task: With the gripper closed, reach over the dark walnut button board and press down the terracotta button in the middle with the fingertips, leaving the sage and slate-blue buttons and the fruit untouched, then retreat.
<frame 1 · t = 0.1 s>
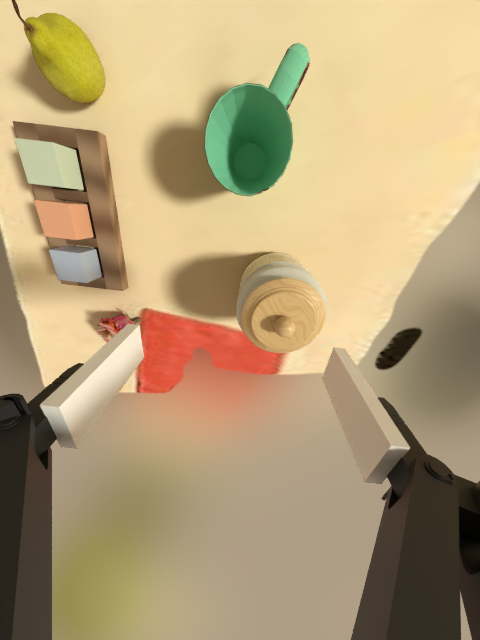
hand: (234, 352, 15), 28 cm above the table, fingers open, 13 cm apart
fruit: (90, 79, 29), on the table
button board: (84, 218, 37), on the table
flower: (130, 324, 47), on the table
button sage: (52, 166, 30), point 4 cm above the table, slide at 0.0 cm
jar: (273, 285, 41), on the table
mug: (258, 145, 31), on the table
button slate: (77, 264, 37), point 4 cm above the table, slide at 0.0 cm
button terracotta: (66, 220, 34), point 4 cm above the table, slide at 0.0 cm
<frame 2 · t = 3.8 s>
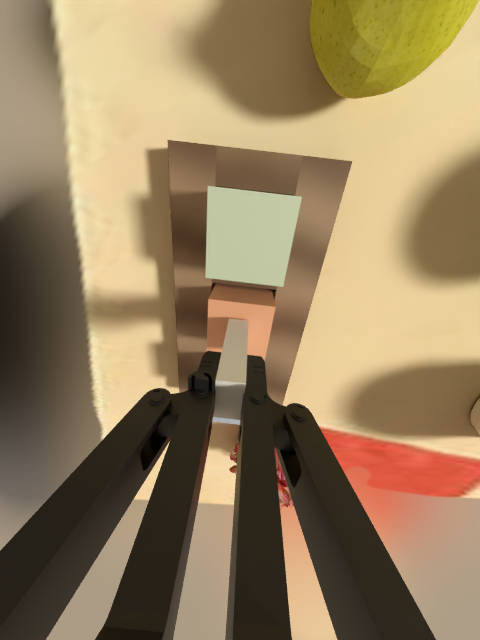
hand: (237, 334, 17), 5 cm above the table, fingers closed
fruit: (355, 44, 13), on the table
button board: (241, 306, 21), on the table
flower: (260, 438, 31), on the table
button sage: (249, 237, 14), point 4 cm above the table, slide at 0.0 cm
button slate: (231, 388, 21), point 4 cm above the table, slide at 0.0 cm
button terracotta: (240, 319, 19), point 3 cm above the table, slide at 1.3 cm, touching gripper
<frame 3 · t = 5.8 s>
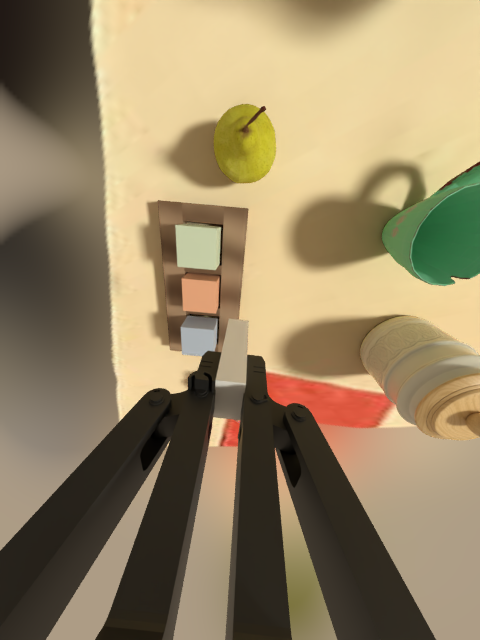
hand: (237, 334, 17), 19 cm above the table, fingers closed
fruit: (245, 155, 27), on the table
button board: (205, 286, 35), on the table
button sage: (199, 246, 28), point 4 cm above the table, slide at 0.0 cm
jar: (394, 345, 39), on the table
mug: (413, 215, 29), on the table
button slate: (200, 336, 34), point 4 cm above the table, slide at 0.0 cm
button terracotta: (202, 292, 33), point 3 cm above the table, slide at 1.6 cm
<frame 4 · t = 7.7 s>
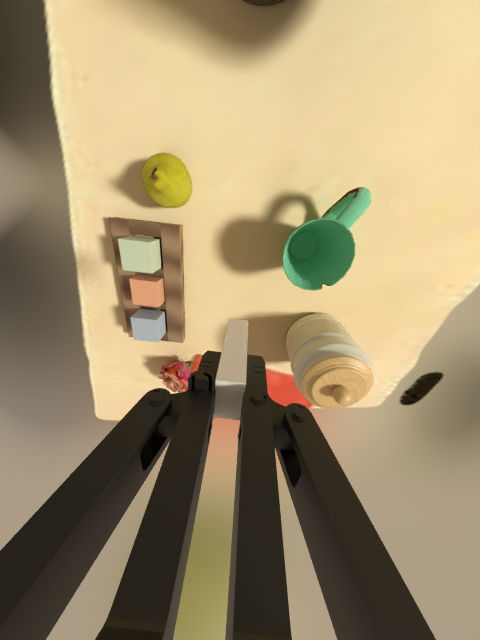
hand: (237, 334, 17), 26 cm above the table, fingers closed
fruit: (176, 184, 35), on the table
button board: (154, 285, 43), on the table
flower: (182, 366, 53), on the table
button sage: (141, 254, 36), point 4 cm above the table, slide at 0.0 cm
jar: (314, 337, 47), on the table
mug: (312, 233, 37), on the table
button slate: (149, 325, 43), point 4 cm above the table, slide at 0.0 cm
button terracotta: (149, 289, 41), point 3 cm above the table, slide at 1.6 cm
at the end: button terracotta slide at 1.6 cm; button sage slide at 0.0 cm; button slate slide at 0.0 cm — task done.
